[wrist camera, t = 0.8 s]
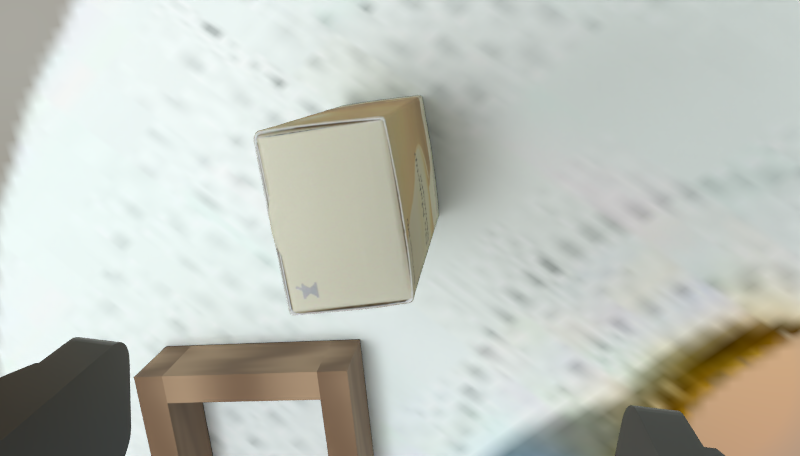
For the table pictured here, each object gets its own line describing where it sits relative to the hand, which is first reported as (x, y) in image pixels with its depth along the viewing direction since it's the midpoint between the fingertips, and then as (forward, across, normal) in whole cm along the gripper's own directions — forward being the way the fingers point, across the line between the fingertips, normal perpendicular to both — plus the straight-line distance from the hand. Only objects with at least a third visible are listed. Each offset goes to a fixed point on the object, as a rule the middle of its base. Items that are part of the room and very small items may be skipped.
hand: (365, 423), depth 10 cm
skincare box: (+23, +2, 0) cm, 23 cm away
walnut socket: (+23, +7, +16) cm, 29 cm away
